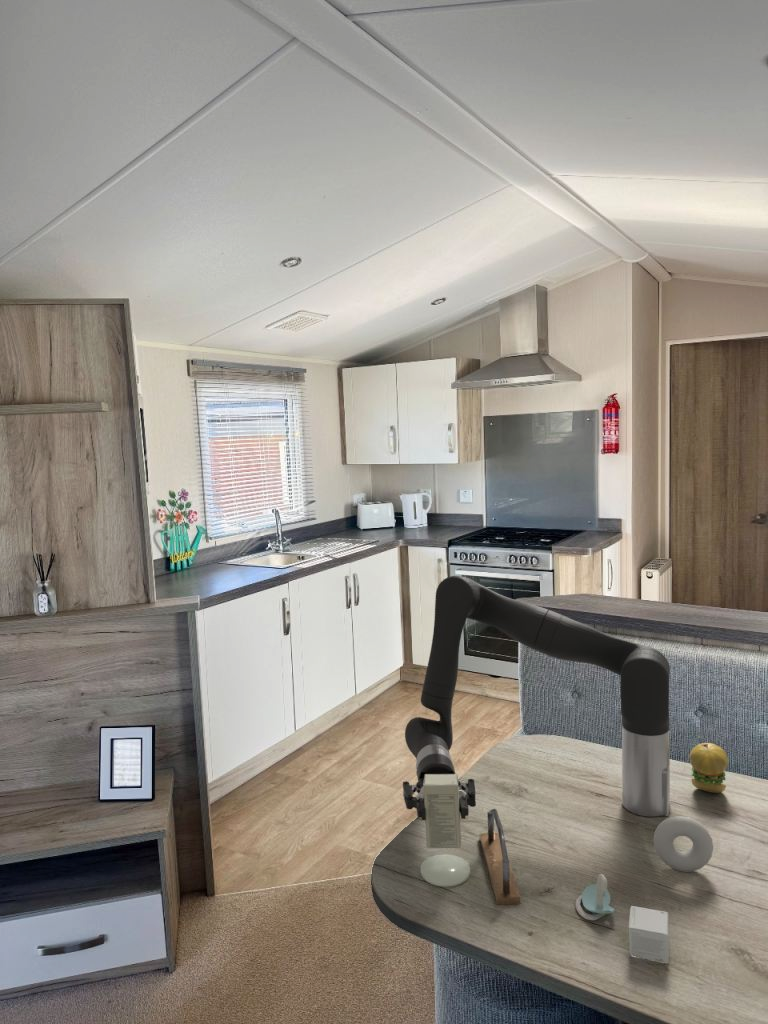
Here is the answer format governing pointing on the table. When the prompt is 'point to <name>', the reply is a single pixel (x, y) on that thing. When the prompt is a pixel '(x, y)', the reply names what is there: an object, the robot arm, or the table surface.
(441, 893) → the table surface
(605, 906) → the pacifier
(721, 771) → the hamburger
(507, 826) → the table surface
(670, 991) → the table surface
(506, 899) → the wood and metal stand
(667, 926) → the small box
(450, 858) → the glossy white rounded disc
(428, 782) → the skincare box
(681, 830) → the donut
